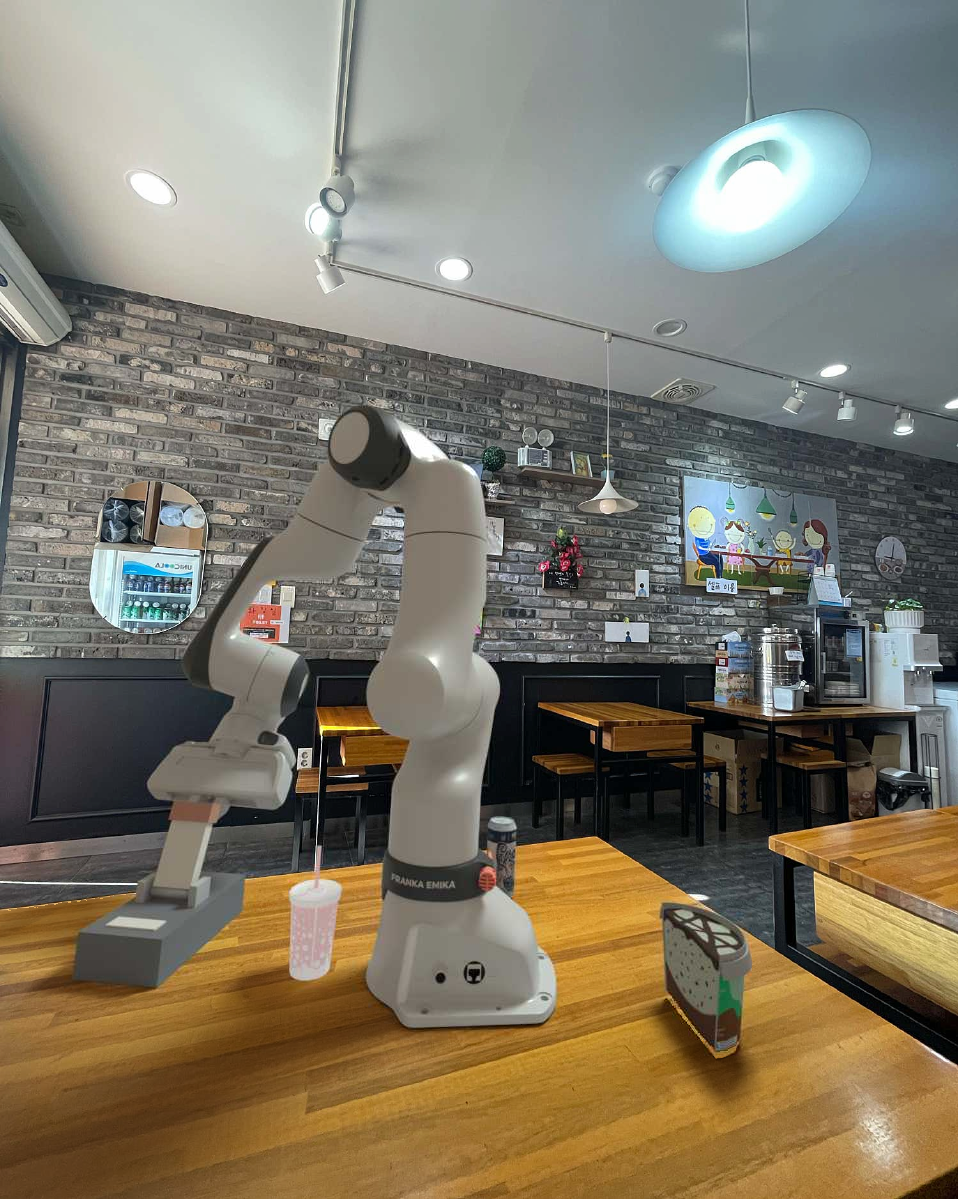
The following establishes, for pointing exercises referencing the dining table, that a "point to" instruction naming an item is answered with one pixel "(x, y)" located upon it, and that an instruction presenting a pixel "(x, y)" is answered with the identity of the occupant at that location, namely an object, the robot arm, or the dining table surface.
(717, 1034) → the food container
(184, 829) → the lever
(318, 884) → the beverage cup
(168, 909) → the switch panel
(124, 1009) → the dining table surface
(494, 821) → the beer can
